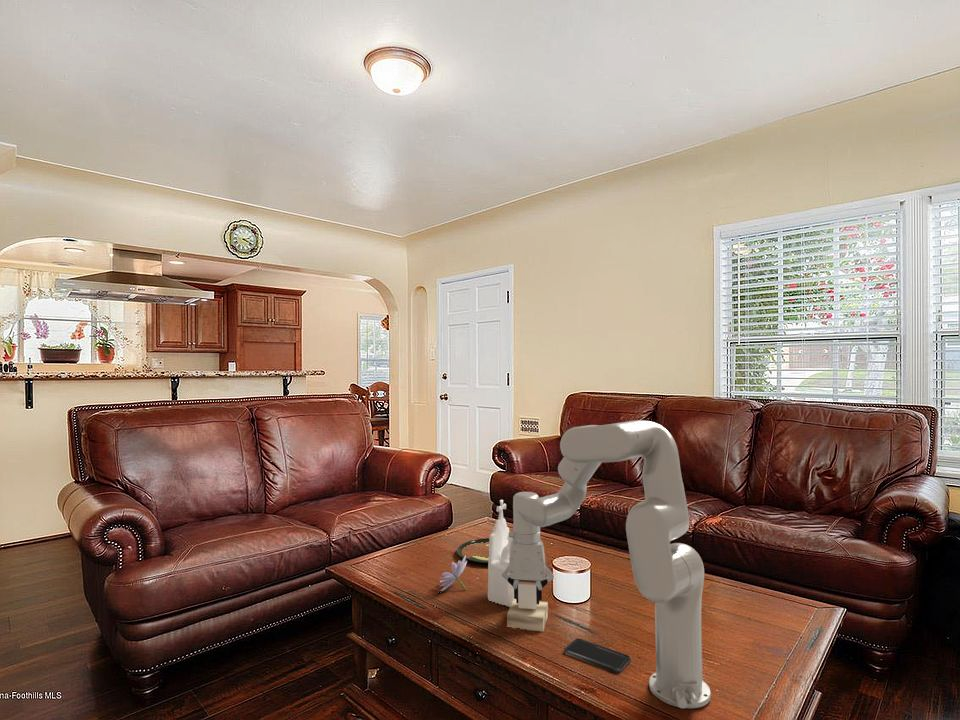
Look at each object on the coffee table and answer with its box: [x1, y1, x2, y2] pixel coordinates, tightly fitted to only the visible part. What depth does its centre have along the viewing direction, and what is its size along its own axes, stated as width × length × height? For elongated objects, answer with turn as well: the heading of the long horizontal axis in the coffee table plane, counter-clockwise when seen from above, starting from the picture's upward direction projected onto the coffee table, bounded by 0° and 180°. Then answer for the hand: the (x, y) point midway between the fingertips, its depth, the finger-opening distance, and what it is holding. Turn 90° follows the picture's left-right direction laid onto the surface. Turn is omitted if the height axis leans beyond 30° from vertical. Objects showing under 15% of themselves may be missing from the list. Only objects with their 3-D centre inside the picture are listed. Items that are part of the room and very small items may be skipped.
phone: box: [563, 637, 632, 674], centre depth 129 cm, size 8×1×15 cm
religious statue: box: [487, 499, 550, 608], centre depth 163 cm, size 17×14×30 cm
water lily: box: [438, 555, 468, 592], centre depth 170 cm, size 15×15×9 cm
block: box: [506, 599, 549, 632], centre depth 148 cm, size 10×10×4 cm
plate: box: [456, 537, 489, 565], centre depth 202 cm, size 28×28×2 cm
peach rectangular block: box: [518, 580, 537, 609], centre depth 148 cm, size 5×5×7 cm
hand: (528, 601), depth 148 cm, fingers closed on peach rectangular block, 5 cm apart
